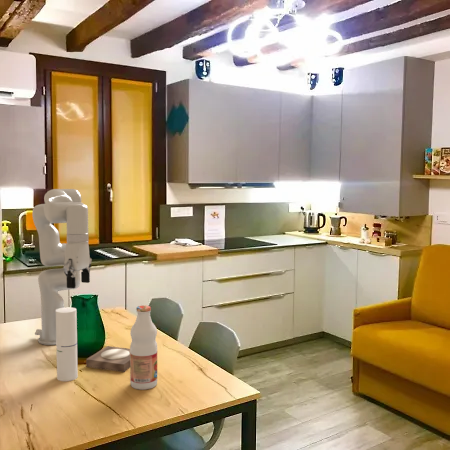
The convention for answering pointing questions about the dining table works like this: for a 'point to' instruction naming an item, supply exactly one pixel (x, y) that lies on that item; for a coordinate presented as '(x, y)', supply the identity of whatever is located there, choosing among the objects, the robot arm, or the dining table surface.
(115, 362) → the walnut plinth
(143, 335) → the fruit juice
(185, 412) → the dining table surface
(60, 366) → the cylindrical container
